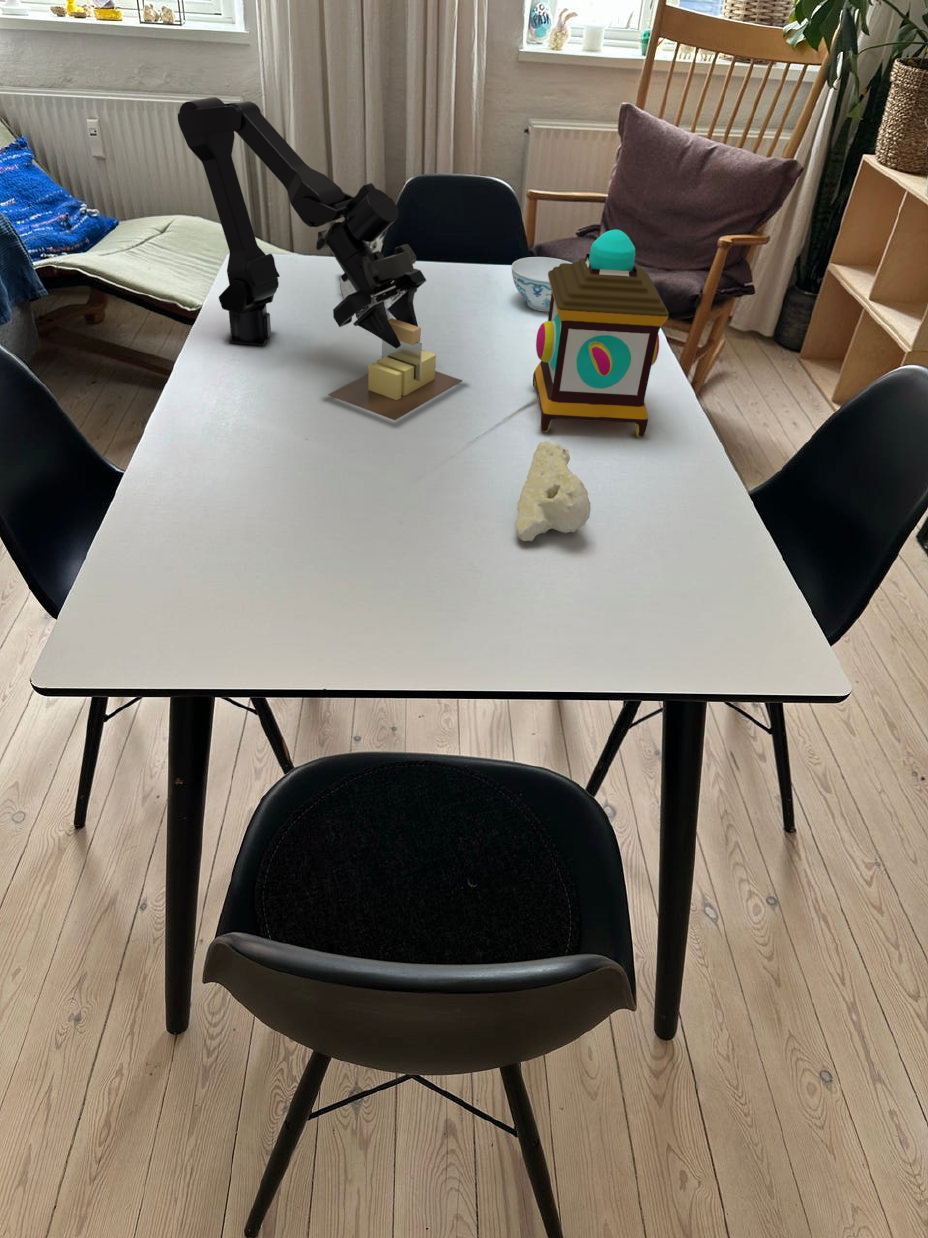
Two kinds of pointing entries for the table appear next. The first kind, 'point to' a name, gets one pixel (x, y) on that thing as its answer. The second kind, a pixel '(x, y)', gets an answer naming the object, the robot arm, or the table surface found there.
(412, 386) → the butter block
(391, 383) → the butter slice
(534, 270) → the chinaware
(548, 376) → the decorative lantern
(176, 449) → the table surface
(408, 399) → the board
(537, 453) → the cream rough rock
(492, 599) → the table surface
